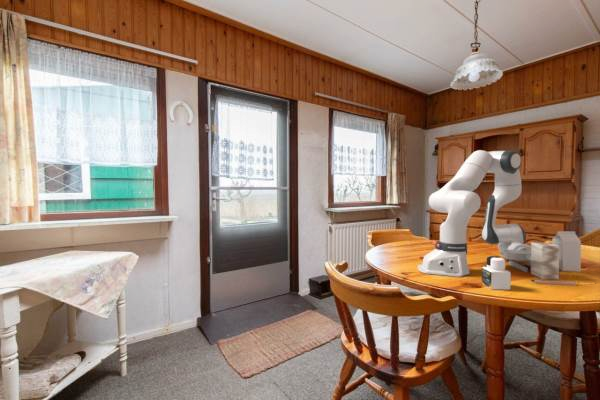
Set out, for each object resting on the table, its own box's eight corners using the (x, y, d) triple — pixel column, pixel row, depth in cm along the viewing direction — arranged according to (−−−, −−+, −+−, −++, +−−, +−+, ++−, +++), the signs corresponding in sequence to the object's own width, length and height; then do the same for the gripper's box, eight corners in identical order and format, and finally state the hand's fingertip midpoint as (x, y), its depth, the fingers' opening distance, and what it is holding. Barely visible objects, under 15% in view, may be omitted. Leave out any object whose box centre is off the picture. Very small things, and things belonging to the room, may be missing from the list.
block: (541, 278, 116) (542, 245, 116) (530, 273, 124) (531, 242, 124) (558, 279, 115) (559, 246, 115) (546, 273, 123) (546, 242, 122)
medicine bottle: (481, 283, 114) (481, 254, 114) (500, 284, 113) (500, 255, 113) (490, 289, 107) (491, 259, 107) (510, 290, 106) (511, 259, 106)
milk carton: (580, 273, 126) (581, 232, 126) (562, 273, 128) (563, 232, 127) (568, 269, 133) (569, 230, 133) (551, 268, 134) (552, 230, 134)
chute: (536, 283, 114) (536, 276, 114) (503, 266, 140) (503, 260, 140) (576, 285, 111) (576, 278, 111) (535, 267, 137) (535, 261, 137)
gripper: (497, 245, 139) (511, 251, 126) (544, 247, 134) (565, 253, 121) (497, 258, 139) (511, 265, 126) (544, 260, 135) (564, 267, 121)
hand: (538, 259), depth 123 cm, fingers closed, pressing on block
